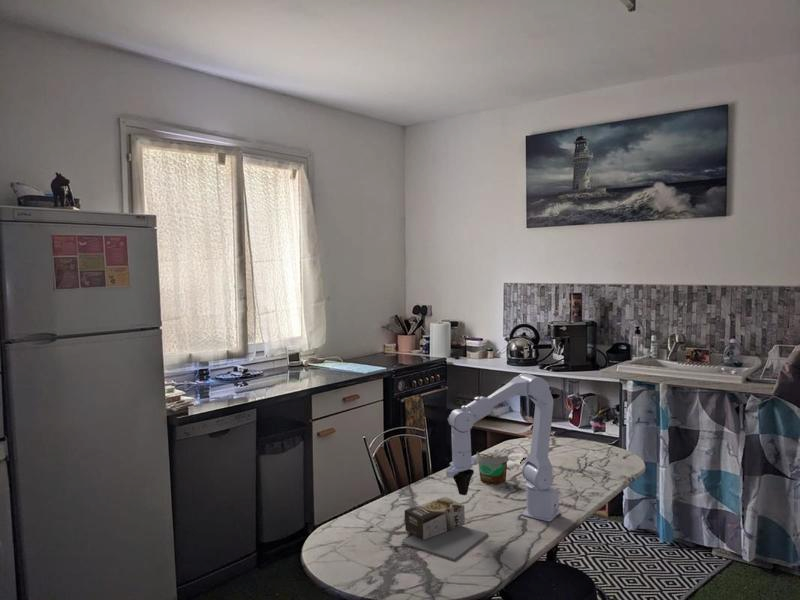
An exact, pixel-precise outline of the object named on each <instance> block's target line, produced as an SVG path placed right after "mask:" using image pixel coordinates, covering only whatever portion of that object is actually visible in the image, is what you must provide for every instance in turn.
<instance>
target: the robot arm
mask: <svg viewBox="0 0 800 600" xmlns="http://www.w3.org/2000/svg"><path fill="white" fill-rule="evenodd" d="M515 396H520V397H528V398H529V399H530V400H531V402H533V404H534V405H535V406H534V415H533V426H532V435H531V443H530V452H529V454H528V455H527V457H526V458H525V462H524V465H523V466H522V469H521V475H522V477H523V478H524V479H525V489H526V490H525V491H526V510H524V511H523V512H521V515H522V516H523V517H524V516H525V517H528V518H532V519H537V520H540V521H543V522H544V521H545V522H552V521H553V520H554V519H555V518H556V517H557V516H558V515H560V514H561V511H560V498H559V491H558V490H557V489H555V488H554V487H553V488H552V485H553V483H554V475H553V471H552V470H553V465H552V462H551V461H550V459H549V450H550V440H551V433H552V432H551V430H552V423H553V422H552V421H553V411H554V402H555V401H554V398H553V396H552V393H551V390H550V384H549V383H548V382H547V380H545V379H544V378H543V377H539V376H535V375H532V374H531V373H528V372H523V373H520V374H518V376H517V375H516V376H515V377H513V378H512V379H511V380H510V381H508V382H507V383H506V384H504V385H503V386H501V387H500V388H498V389H496V390H495V391H494V392H493V393H491V394H490V395H488V396H487V397H486V396H482V395H481V396H475V397H474V398H473V401H470V402H469V403H467V404H466V405H461V408H456V409H453V410H452V411H451V412H450V414H449V415H448V417H447V421H448V424H449V426H451V427H450V428H451V430H450V431H451V453H452V454H451V458H452V459H451V460H452V461H451V462H449V468H448V469H447V470H445V476H446V478H449V479H453V480H454V482H455V485H456V488H457V491H458V494H459V496H460V495H462V496H467V495H468V492H469V488H470V487H469V486H470V483H471V480H472V478H473V477H472V476H474V471H475V470H474V469H472V468H473V466H477V465H478V461H477V458H476V457H474V456H472V441H471V439H472V438H471V436H472V435H471V430H472V428H473V426H474V424H475V423H477V422H478V421H480V420H482V419H484V418H485V417H487V416H488V415H490V414H491V413H492V412H493V409H494V407H496V406H497V405H500V404H502V403H504V402H506V401H507V400H509V399H511V398H514V397H515Z"/></svg>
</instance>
